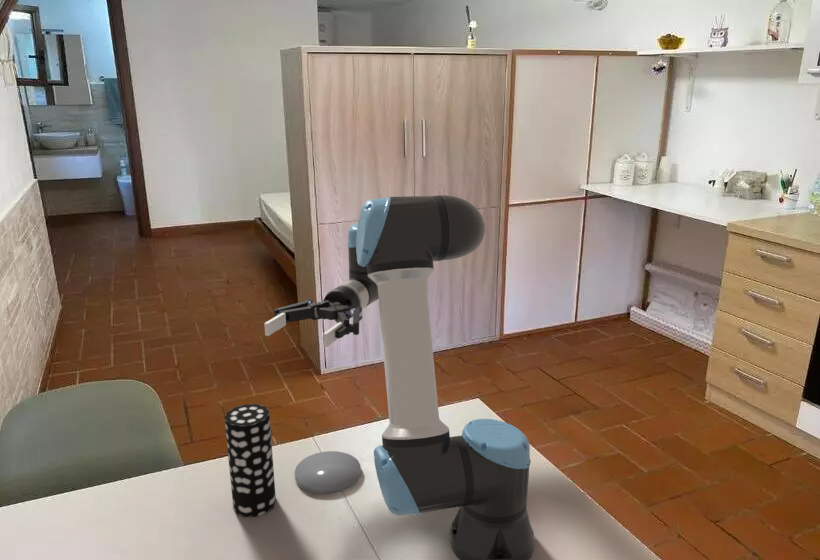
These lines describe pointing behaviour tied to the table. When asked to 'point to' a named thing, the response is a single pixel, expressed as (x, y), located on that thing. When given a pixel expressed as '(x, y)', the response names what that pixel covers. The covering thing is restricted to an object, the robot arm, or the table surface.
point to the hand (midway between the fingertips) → (294, 334)
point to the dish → (327, 472)
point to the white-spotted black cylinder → (250, 459)
